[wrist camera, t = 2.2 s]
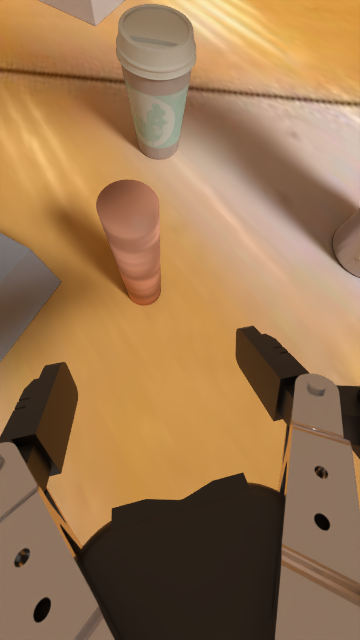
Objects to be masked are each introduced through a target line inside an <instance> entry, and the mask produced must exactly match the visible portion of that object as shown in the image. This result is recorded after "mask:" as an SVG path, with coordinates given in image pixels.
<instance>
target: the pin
mask: <svg viewBox="0 0 360 640" xmlns="http://www.w3.org/2000/svg"><path fill="white" fill-rule="evenodd" d="M96 208H97V212H98V215H99V218H100V221H101V223H102V226H103V229H104V231H105V234H106V237H107V239H108V242H109V245H110V247H111V250H112V253H113V255H114V258H115V261H116V263H117V266H118V269H119V271H120V274H121V277H122V279H123V282H124V285H125V287H126V290H127V293H128V295H129V297H130V299H131V300H132V301H133V302H134V303H136V304H139V305H149V304H152V303H154V302H155V301H156V300H157V299H158V298H159V296H160V293H161V273H160V221H159V200H158V197H157V195H156V194H155V192H154V191H153V190H152V189H151V188H150V187H149V186H147V185H146V184H144V183H142V182H139V181H135V180H120V181H116V182H113V183H111V184H109V185H108V186H106V187H105V188H104V189H103V190H102V191H101V193H100V194H99V196H98V199H97V203H96Z"/></svg>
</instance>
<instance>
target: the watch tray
mask: <svg viewBox="0 0 360 640" xmlns="http://www.w3.org/2000/svg"><path fill="white" fill-rule="evenodd" d="M39 1H42V2H44V3H46V4H48V5H50V6H53V7H55V8H57V9H59V10H61V11H64V12H66V13H68V14H70V15H72V16H75V17H77V18H79V19H81V20H83V21H86V22H88V23H90V24H92V25H94V26H96V25H97V24H99V23H100V22H101V21H102V20H103V19H104V18H105V17H107V16H108V15H109V14H110V13H111V12H112V11H113V10H114V9H116V8H117V7H118V6H119V5H120V4H121V3H122V2H123V1H125V0H39Z"/></svg>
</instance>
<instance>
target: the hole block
mask: <svg viewBox="0 0 360 640" xmlns="http://www.w3.org/2000/svg"><path fill="white" fill-rule="evenodd" d="M60 283H61V281H60V280H59V279H58V278H57V276H56V275H55V274H54V273H53V272H52V271H51V270H50V269H49V268H48V267H47V266H46V265H45V264H44V263H43V262H42V261H41V260H40V259H39V258H38V257H37V256H36V255H35V254H34V253H33V252H32V251H31V250H30V249H29V248H27V247H25V246H24V245H22V244H20V243H18V242H16V241H14V240H12V239H11V238H9V237H7V236H5V235H3V234H1V233H0V362H1V360H2V359H3V358H4V356H5V355H6V354H7V353H8V351H9V350H10V349H11V347H12V346H13V345H14V343H15V342H16V341H17V339H18V338H19V337H20V335H21V334H22V333H23V332H24V330H25V329H26V328H27V326H28V325H29V324H30V322H31V321H32V320H33V318H34V317H35V316H36V315H37V313H38V312H39V311H40V309H41V308H42V307H43V305H44V304H45V303H46V301H47V300H48V299H49V298H50V296H51V295H52V294H53V292H54V291H55V290H56V288H57V287H58V286H59V284H60Z"/></svg>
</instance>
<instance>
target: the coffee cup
mask: <svg viewBox="0 0 360 640" xmlns="http://www.w3.org/2000/svg"><path fill="white" fill-rule="evenodd" d="M116 46H117V47H116V54H117V57H118V59H119V61H120V63H121V65H122V70H123V75H124V79H125V84H126V89H127V93H128V98H129V103H130V107H131V112H132V117H133V121H134V126H135V131H136V135H137V140H138V145H139V148H140V150H141V151H142V152H143V153H144V154H145V155H146V156H148V157H150V158H153V159H166V158H169V157H171V156H172V155H173V154H174V153H175V152H176V150H177V148H178V142H179V137H180V132H181V126H182V120H183V115H184V109H185V103H186V98H187V92H188V87H189V81H190V75H191V69H192V67H193V66H194V64H195V62H196V44H195V41H194V33H193V27H192V24H191V22H190V21H189V19H188V18H187V17H186V16H185V15H184V14H182V13H181V12H179V11H177V10H175V9H173V8H171V7H168V6H164V5H158V4H144V5H139V6H135V7H132V8H130V9H129V10H127V11H126V12H124V13H123V14H122V16H121V17H120V20H119V25H118V35H117V39H116Z"/></svg>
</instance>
